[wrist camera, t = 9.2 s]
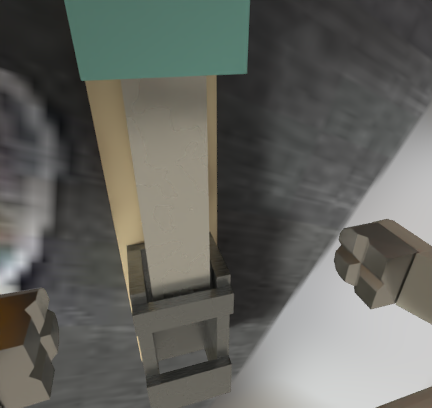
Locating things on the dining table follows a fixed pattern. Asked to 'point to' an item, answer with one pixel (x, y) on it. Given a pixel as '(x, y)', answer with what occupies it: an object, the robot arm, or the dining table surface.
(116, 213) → the board
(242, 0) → the teal cube
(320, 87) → the dining table surface
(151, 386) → the sleeve
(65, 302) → the dining table surface
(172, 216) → the slip tube
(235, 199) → the dining table surface
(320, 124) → the dining table surface
